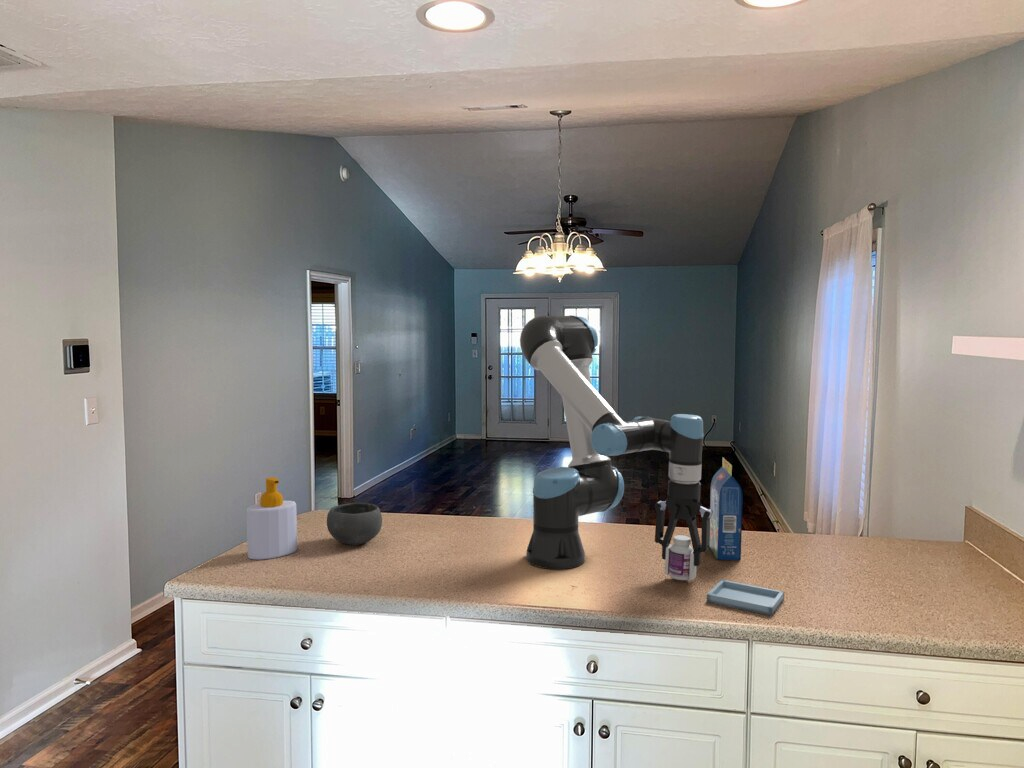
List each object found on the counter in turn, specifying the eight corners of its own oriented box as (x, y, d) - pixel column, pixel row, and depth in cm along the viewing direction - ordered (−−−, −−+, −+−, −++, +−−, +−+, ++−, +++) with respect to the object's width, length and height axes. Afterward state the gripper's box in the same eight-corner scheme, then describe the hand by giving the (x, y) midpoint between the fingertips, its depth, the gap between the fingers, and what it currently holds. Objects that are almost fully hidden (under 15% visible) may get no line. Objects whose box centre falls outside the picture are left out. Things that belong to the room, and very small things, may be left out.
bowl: (356, 532, 215) (355, 498, 214) (392, 541, 206) (392, 506, 205) (315, 544, 203) (315, 509, 202) (352, 554, 194) (352, 517, 193)
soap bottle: (254, 563, 187) (252, 484, 185) (242, 555, 193) (240, 479, 191) (303, 552, 195) (301, 477, 194) (289, 545, 202) (288, 472, 200)
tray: (706, 601, 162) (706, 594, 162) (721, 586, 171) (721, 579, 171) (771, 615, 155) (772, 607, 154) (783, 599, 164) (784, 591, 164)
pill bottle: (687, 582, 172) (689, 542, 171) (665, 577, 174) (667, 538, 173) (694, 575, 176) (696, 536, 175) (673, 571, 179) (675, 532, 178)
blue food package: (731, 546, 202) (734, 457, 200) (741, 560, 190) (744, 465, 188) (708, 546, 203) (710, 456, 201) (716, 560, 191) (719, 465, 189)
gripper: (641, 477, 175) (638, 572, 177) (718, 489, 165) (713, 588, 167) (653, 472, 181) (650, 563, 183) (728, 482, 171) (723, 579, 173)
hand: (680, 575), depth 175 cm, fingers closed on pill bottle, 5 cm apart
